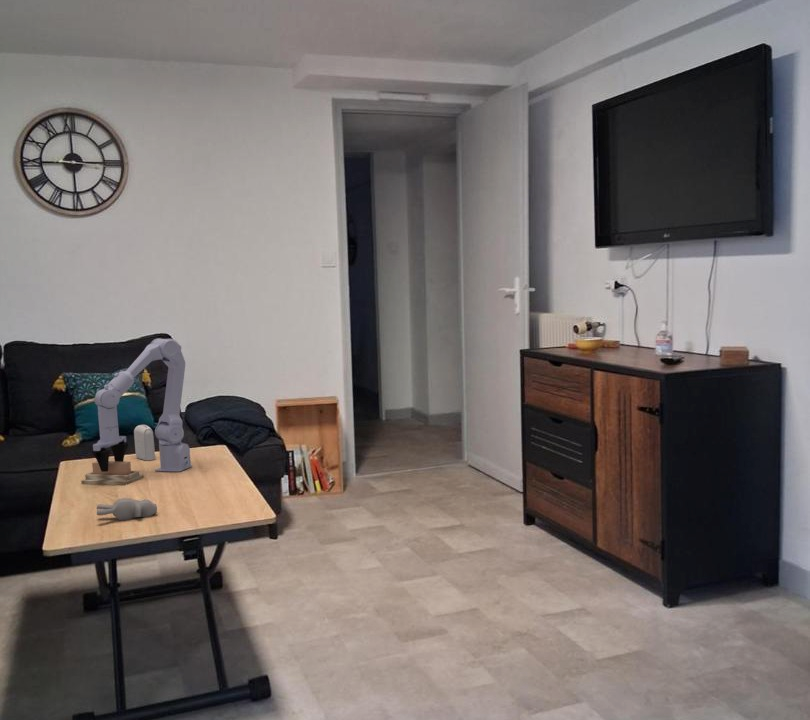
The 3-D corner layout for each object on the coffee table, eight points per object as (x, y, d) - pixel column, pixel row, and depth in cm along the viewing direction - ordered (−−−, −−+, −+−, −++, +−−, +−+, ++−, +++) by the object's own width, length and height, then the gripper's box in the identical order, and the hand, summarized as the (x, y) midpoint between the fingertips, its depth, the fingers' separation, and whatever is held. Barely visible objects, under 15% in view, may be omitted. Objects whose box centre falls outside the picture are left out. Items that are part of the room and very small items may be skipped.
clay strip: (131, 476, 261) (130, 461, 260) (125, 479, 258) (124, 463, 257) (99, 476, 264) (98, 460, 264) (93, 478, 261) (92, 462, 261)
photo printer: (134, 457, 297) (131, 424, 296) (145, 455, 299) (143, 422, 298) (145, 461, 289) (142, 427, 288) (156, 459, 292) (154, 425, 290)
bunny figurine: (158, 503, 214) (97, 504, 209) (157, 522, 215) (96, 524, 209) (155, 495, 223) (97, 496, 218) (154, 514, 223) (96, 515, 218)
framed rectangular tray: (143, 477, 264) (143, 469, 263) (125, 485, 254) (124, 477, 254) (101, 476, 268) (100, 468, 268) (81, 483, 258) (80, 476, 258)
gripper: (111, 422, 267) (114, 463, 269) (83, 430, 254) (86, 473, 255) (130, 422, 266) (133, 463, 267) (102, 430, 252) (106, 474, 253)
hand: (112, 468), depth 261 cm, fingers open, 7 cm apart
